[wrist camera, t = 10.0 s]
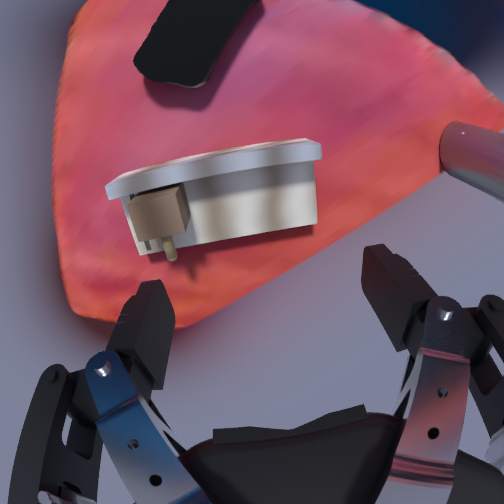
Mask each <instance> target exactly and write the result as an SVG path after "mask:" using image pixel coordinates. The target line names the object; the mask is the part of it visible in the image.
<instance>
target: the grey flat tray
mask: <svg viewBox="0 0 504 504" xmlns="http://www.w3.org/2000/svg"><path fill="white" fill-rule="evenodd" d="M321 159H322V152H321V144H320V143H317V142H314V141H312V140H309V139H306V138H301V139H292V140H283V141H275V142H267V143H260V144H253V145H247V146H241V147H235V148H229V149H223V150H218V151H213V152H208V153H203V154H198V155H193V156H189V157H184V158H180V159H175V160H171V161H167V162H163V163H159V164H155V165H151V166H148V167H144V168H140V169H137V170H133V171H130V172H126V173H123V174H121V175H120V176H118V177H117V178H115V179H114V180H113V181H111V182H110V183H108V184H107V185H106V186H105V189H106V192H107V195H108V199H109V200H112V199H116V198H119V197H120V198H121V201H122V205H123V208H124V211H125V214H126V217H127V220H128V223H129V226H130V229H131V232H132V235H133V238H134V240H135V243H136V246H137V249H138V251H139V254H140V255H145V254H150V253H155V252H160V251H164V248H163V245H162V242H161V238H157V239H152V240H148V241H143V242H138V239H137V236H136V233H135V230H134V227H133V224H132V221H131V218H130V215H129V212H128V209H127V206H126V205H127V204H128V203H129V202H130V201H131V200H132V199H133V198H134V197H135V196H136V195H137V194H138V193H139V192H142V191H146V190H150V189H154V188H158V187H162V186H166V185H170V184H175V183H179V182H183V183H184V187H185V191H186V196H187V200H188V204H189V208H190V212H191V216H190V219H189V223H188V226H187V230H186V233H182V234H177V235H172V239H173V242H174V245H175V248H181V247H187V246H192V245H197V244H203V243H208V242H214V241H219V240H225V239H230V238H236V237H241V236H247V235H253V234H258V233H264V232H270V231H276V230H282V229H288V228H293V227H299V226H305V225H311V224H317V204H316V188H315V174H314V162H313V160H321Z"/></svg>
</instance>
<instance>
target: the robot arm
mask: <svg viewBox="0 0 504 504" xmlns="http://www.w3.org/2000/svg"><path fill="white" fill-rule="evenodd" d="M440 158H441V162H442V165H443V167H444V169H445V171H446V172H447V173H448V174H449V175H451V176H453V177H455V178H457V179H459V180H461V181H463V182H465V183H467V184H469V185H471V186H473V187H475V188H477V189H479V190H481V191H483V192H485V193H487V194H488V195H490V196H492V197H494V198H496V199H498V200H499V201H501V202H503V203H504V134H503V133H500V132H497V131H493V130H490V129H486V128H483V127H479V126H475V125H471V124H467V123H462V122H457V121H456V122H452V123H450V124H449V125H448V126H447V127H446V129H445V130H444V132H443V135H442V137H441V142H440ZM361 284H362V289H363V292H364V294H365V296H366V298H367V299H368V301H369V303H370V304H371V306H372V308H373V310H374V311H375V313H376V315H377V317H378V318H379V320H380V322H381V324H382V325H383V327H384V329H385V331H386V333H387V334H388V336H389V338H390V340H391V342H392V344H393V346H394V347H395V349H396V351H397V352H399V351H402V350H405V349H408V351H409V353H410V354H409V356H408V359H407V363H406V367H405V371H404V374H403V378H402V382H401V385H400V388H399V392H398V395H397V398H396V401H395V403H394V405H393V407H392V410H391V412H390V414H384V413H374V412H373V413H372V412H368V413H367V412H366V409H365V406H364V404H362V405H358V406H355V407H352V408H348V409H344V410H340V411H336V412H332V413H328V414H326V415H324V416H322V417H320V418H317V419H315V420H313V421H311V422H309V423H307V424H304V425H302V426H299V427H297V428H295V429H290V430H284V429H270V428H260V427H251V426H249V427H238V428H224V429H213V438H212V439H208V440H206V441H203V442H201V443H199V444H197V445H195V446H193V447H191V448H190V449H189V448H188V447H187V446H186V445H185V444H184V442H183V441H182V440H181V439H180V438H179V437H178V436H177V434H176V433H175V432H174V430H173V429H172V428H171V426H170V425H169V423H168V422H167V420H166V419H165V417H164V416H163V415H162V413H161V412H160V410H159V409H158V407H157V406H156V404H155V403H154V401H153V400H152V398H151V392H152V390H163V385H164V379H165V373H166V368H167V363H168V357H169V352H170V346H171V342H172V336H173V332H174V327H175V313H174V309H173V307H172V304H171V302H170V299H169V297H168V295H167V292H166V290H165V287H164V285H163V283H162V281H161V280H160V279H158V280H151V281H145V282H142V283H141V284H140V286H139V289H138V291H137V293H136V295H134V296H132V297H131V298H130V299H129V300H128V301H127V302H126V303H125V304H124V306H123V308H122V311H121V313H120V316H119V318H118V320H117V324H116V325H115V327H114V330H113V332H112V335H111V337H110V340H109V342H108V345H107V347H106V350H104V351H101V352H98V353H97V354H95V355H94V356H93V357H91V358H90V359H89V361H88V362H87V364H86V367H85V369H82V370H79V371H75V372H72V373H69V372H68V371H67V369H66V368H65V367H64V366H63V365H61V364H54V365H51V366H50V367H48V368H47V369H46V370H45V371H44V372H43V373H42V375H41V377H40V379H39V382H38V384H37V387H36V389H35V392H34V395H33V398H32V401H31V403H30V406H29V409H28V412H27V415H26V419H25V422H24V425H23V429H22V432H21V436H20V439H19V443H18V447H17V452H16V456H15V460H14V465H13V470H12V476H11V482H10V488H9V496H8V504H97V490H98V478H99V470H100V461H101V453H102V446H103V443H104V445H105V447H106V449H107V451H108V454H109V455H110V458H111V460H112V462H113V464H114V466H115V468H116V469H117V471H118V473H119V475H120V477H121V479H122V480H123V482H124V484H125V486H126V488H127V489H128V491H129V493H130V494H131V496H132V497H133V499H134V501H135V503H134V504H504V376H503V377H502V375H501V373H500V371H499V369H498V368H497V366H496V364H495V362H494V361H493V359H492V357H491V356H490V354H489V352H490V350H491V349H492V347H493V346H494V348H495V349H496V351H497V353H498V354H499V356H500V357H501V359H502V361H503V363H504V300H503V299H501V298H500V297H498V296H495V295H485V296H483V297H482V299H481V301H480V303H479V306H478V307H471V308H462V307H461V305H460V304H459V303H458V302H457V301H456V300H454V299H452V298H450V297H447V296H438V295H437V294H436V293H435V292H434V290H433V289H432V288H431V287H430V286H429V284H428V283H427V282H426V281H425V280H424V279H423V277H422V276H421V275H419V273H418V272H417V271H416V270H415V269H413V266H412V265H411V264H410V263H409V262H408V261H407V260H406V259H405V258H403V257H401V256H399V255H398V254H393V253H392V252H391V251H390V250H389V249H388V248H387V247H386V246H385V245H384V244H377V245H372V246H367V247H365V248H364V252H363V264H362V276H361ZM468 388H469V389H470V392H471V394H472V396H473V398H474V400H475V402H476V405H477V407H478V409H479V411H480V414H481V416H482V418H483V421H484V423H485V426H486V428H487V431H488V433H489V436H490V439H491V440H490V443H489V448H488V449H487V451H486V454H485V458H486V460H487V461H490V464H489V463H487V462H484V461H482V460H480V459H478V458H476V457H474V456H472V455H469V454H467V453H465V452H463V451H461V450H459V449H458V447H459V442H460V438H461V433H462V428H463V423H464V417H465V411H466V405H467V397H468ZM66 415H68V416H69V417H70V418H71V419H72V422H71V426H70V430H69V435H68V439H67V444H66V446H65V445H64V444H63V441H62V431H63V427H64V423H65V419H66Z"/></svg>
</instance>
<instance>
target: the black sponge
mask: <svg viewBox="0 0 504 504" xmlns="http://www.w3.org/2000/svg"><path fill="white" fill-rule="evenodd" d="M257 1H258V0H169V1H168V2H167V4H166V6H165V8H164V9H163V11H162V12H161V13H160V16H159V17H158V18H157V21H156V22H155V23H154V24H153V26H152V27H151V31H150V33H149V34H148V36H147V38H146V39H145V41H144V42H143V44H142V46H141V47H140V49H139V50H138V51H137V53H136V54H135V56H134V60H133V62H134V65H135V66H136V68H137V69H138V71H139V72H140V73H141V74H143V75H144V76H145V77H147V78H148V79H150V80H152V81H156V82H162V83H168V84H174V85H178V86H181V87H185V88H198V87H201V86H203V85H204V84H205V83H206V82H207V81H208V80H209V77H210V74H211V70H212V68H213V66H214V65H215V63H216V62H217V60H218V58H219V56H220V54H221V53H222V51H223V49H224V47H225V46H226V44H227V43H228V41H229V39H230V37H231V36H232V34H233V32H234V31H235V29H236V27H237V26H238V24H239V23H240V21H241V20H242V18H243V16H244V15H245V14H246V12H247V11H248V9H249V8H250V6H252V5H254V4H255V3H256V2H257Z"/></svg>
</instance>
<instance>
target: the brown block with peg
mask: <svg viewBox="0 0 504 504" xmlns="http://www.w3.org/2000/svg"><path fill="white" fill-rule="evenodd" d="M126 206H127V209H128V212H129V215H130V218H131V221H132V224H133V227H134V230H135V233H136V236H137V239H138V242H143V241H148V240H152V239H157V238H161V242H162V245H163V248H164V251H165V254H166V257H167V259H168V260H169V261H170V262H174V261H176V260H177V258H178V255H177V252H176V248H175V245H174V242H173V239H172V235H177V234H182V233H186V230H187V226H188V223H189V219H190V216H191V212H190V208H189V204H188V200H187V196H186V191H185V187H184V183H183V182H179V183H175V184H170V185H166V186H162V187H158V188H154V189H150V190H146V191H142V192H139V193H138V194H137V195H136V196H135V197H134V198H133V199H132V200H131V201H130V202H129V203H128V204H127V205H126Z"/></svg>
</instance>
